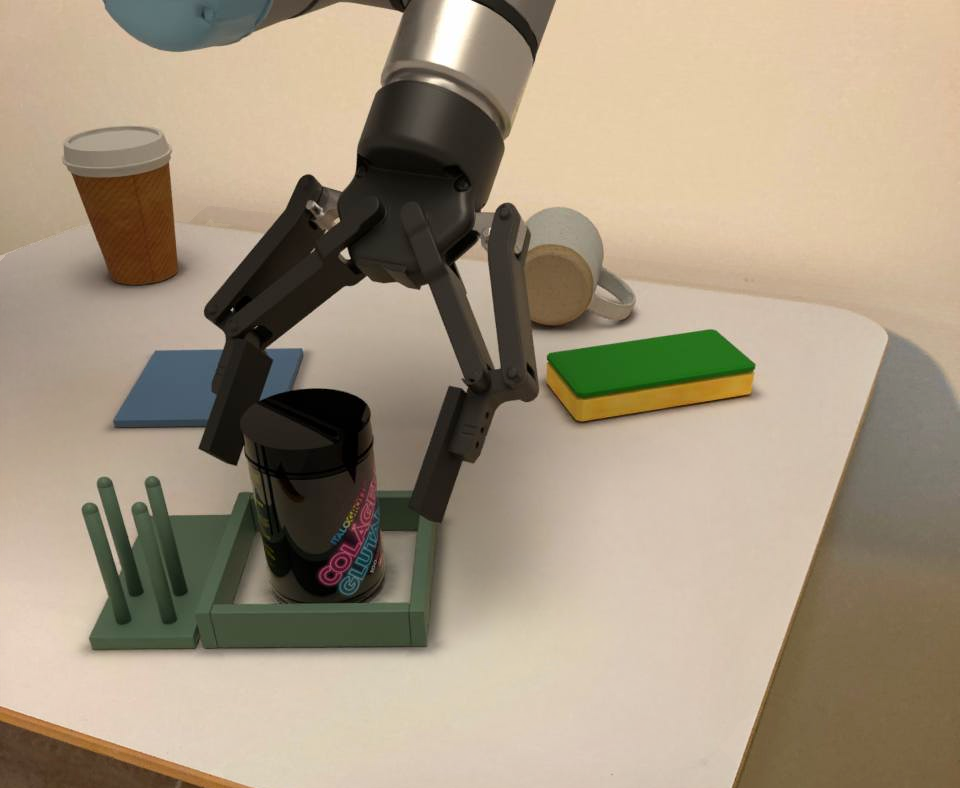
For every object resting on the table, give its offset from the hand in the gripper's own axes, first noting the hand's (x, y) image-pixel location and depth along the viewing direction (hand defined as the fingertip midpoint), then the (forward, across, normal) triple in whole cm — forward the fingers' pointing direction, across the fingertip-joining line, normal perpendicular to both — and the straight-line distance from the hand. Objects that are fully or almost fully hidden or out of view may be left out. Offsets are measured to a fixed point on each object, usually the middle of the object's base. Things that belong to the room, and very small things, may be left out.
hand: (316, 486), depth 56 cm
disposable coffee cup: (-19, +45, -28) cm, 56 cm away
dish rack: (+5, +3, -4) cm, 7 cm away
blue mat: (-7, +22, -16) cm, 29 cm away
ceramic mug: (-25, +4, -34) cm, 43 cm away
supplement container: (+5, 0, -5) cm, 7 cm away
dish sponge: (-17, -7, -27) cm, 33 cm away
